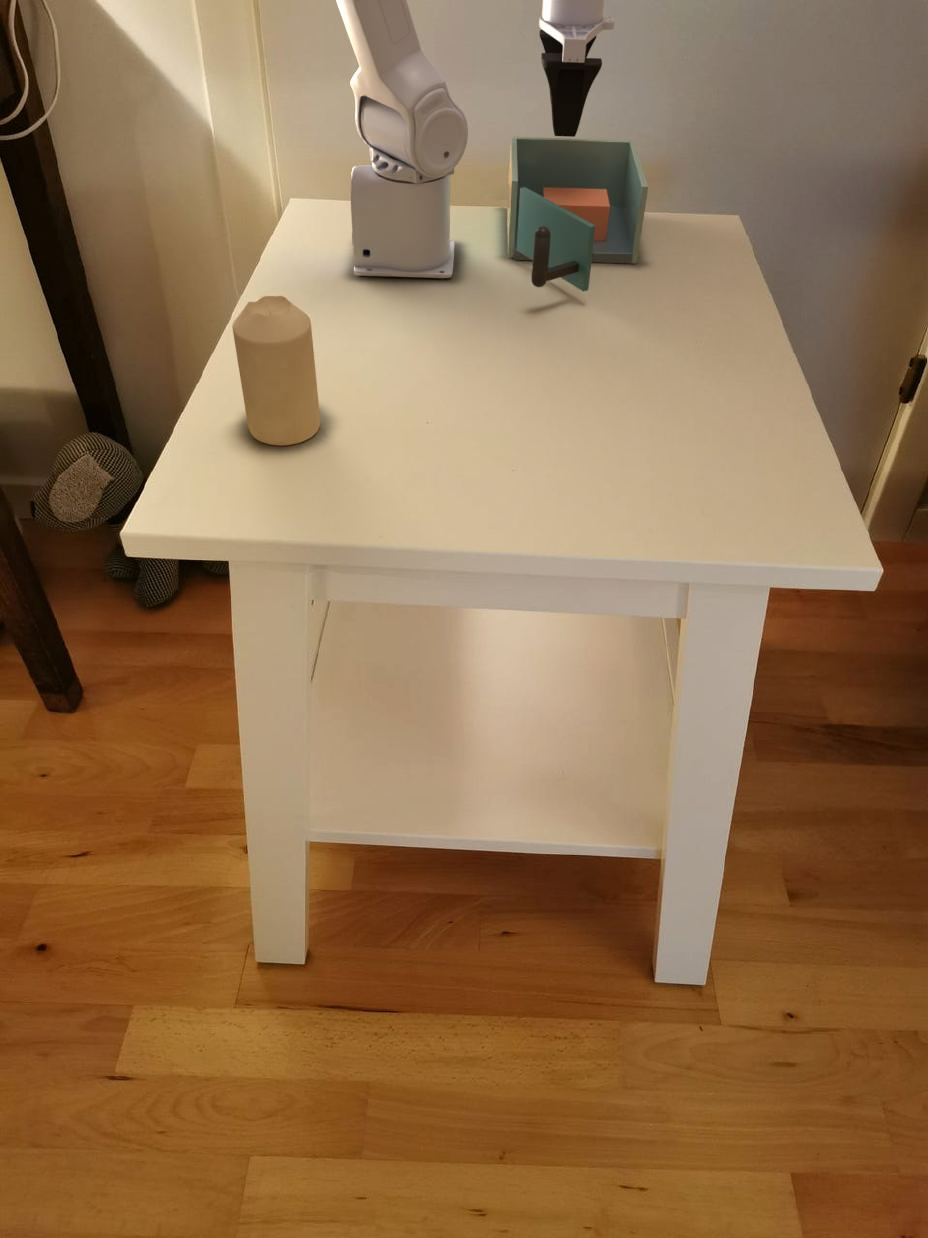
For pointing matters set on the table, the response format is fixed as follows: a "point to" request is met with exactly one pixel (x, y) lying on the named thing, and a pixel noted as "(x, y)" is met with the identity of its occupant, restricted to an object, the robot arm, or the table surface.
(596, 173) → the shower
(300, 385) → the candle
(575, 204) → the soap
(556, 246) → the shower door
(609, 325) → the table surface
